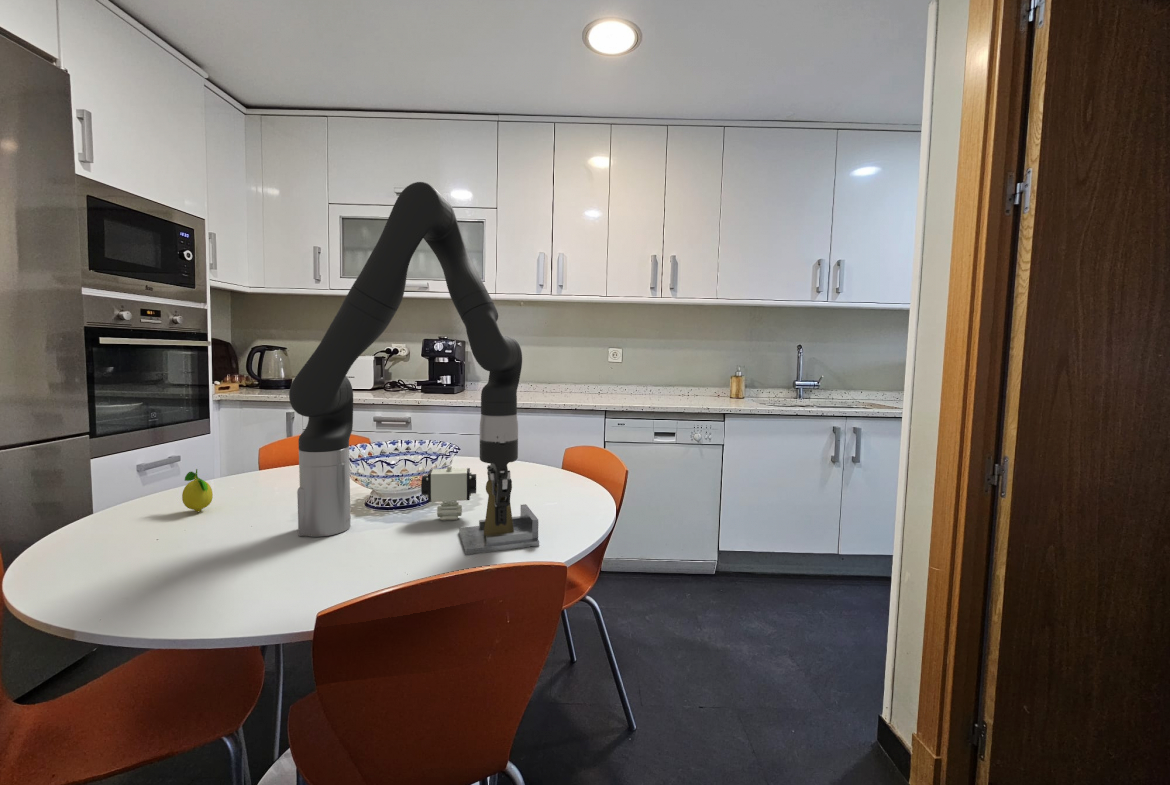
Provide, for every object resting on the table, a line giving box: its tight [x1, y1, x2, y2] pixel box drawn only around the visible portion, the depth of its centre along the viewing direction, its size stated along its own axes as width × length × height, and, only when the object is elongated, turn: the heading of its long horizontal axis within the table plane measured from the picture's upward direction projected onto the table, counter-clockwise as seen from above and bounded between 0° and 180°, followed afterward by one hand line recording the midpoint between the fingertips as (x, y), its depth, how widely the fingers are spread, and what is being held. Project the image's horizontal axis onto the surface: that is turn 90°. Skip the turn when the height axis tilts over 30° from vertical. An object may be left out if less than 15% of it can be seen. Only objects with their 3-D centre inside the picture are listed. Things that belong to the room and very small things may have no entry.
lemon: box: [181, 468, 214, 512], centre depth 113 cm, size 7×6×10 cm
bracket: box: [458, 503, 540, 555], centre depth 100 cm, size 14×12×5 cm
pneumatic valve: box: [420, 465, 477, 522], centre depth 112 cm, size 6×12×12 cm, turn 102°
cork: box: [484, 479, 514, 535], centre depth 99 cm, size 6×6×11 cm
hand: (498, 520), depth 100 cm, fingers closed on cork, 4 cm apart
